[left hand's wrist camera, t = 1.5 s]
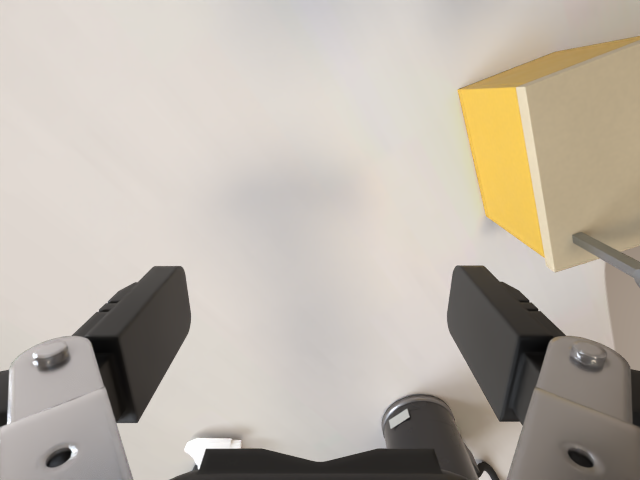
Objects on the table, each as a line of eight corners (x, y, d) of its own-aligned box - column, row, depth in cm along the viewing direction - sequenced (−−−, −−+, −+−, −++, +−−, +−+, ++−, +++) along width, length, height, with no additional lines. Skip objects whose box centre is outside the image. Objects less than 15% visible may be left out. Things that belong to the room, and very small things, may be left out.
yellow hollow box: (573, 186, 38) (665, 219, 28) (485, 216, 39) (544, 258, 29) (555, 51, 33) (658, 32, 23) (457, 89, 35) (514, 87, 24)
